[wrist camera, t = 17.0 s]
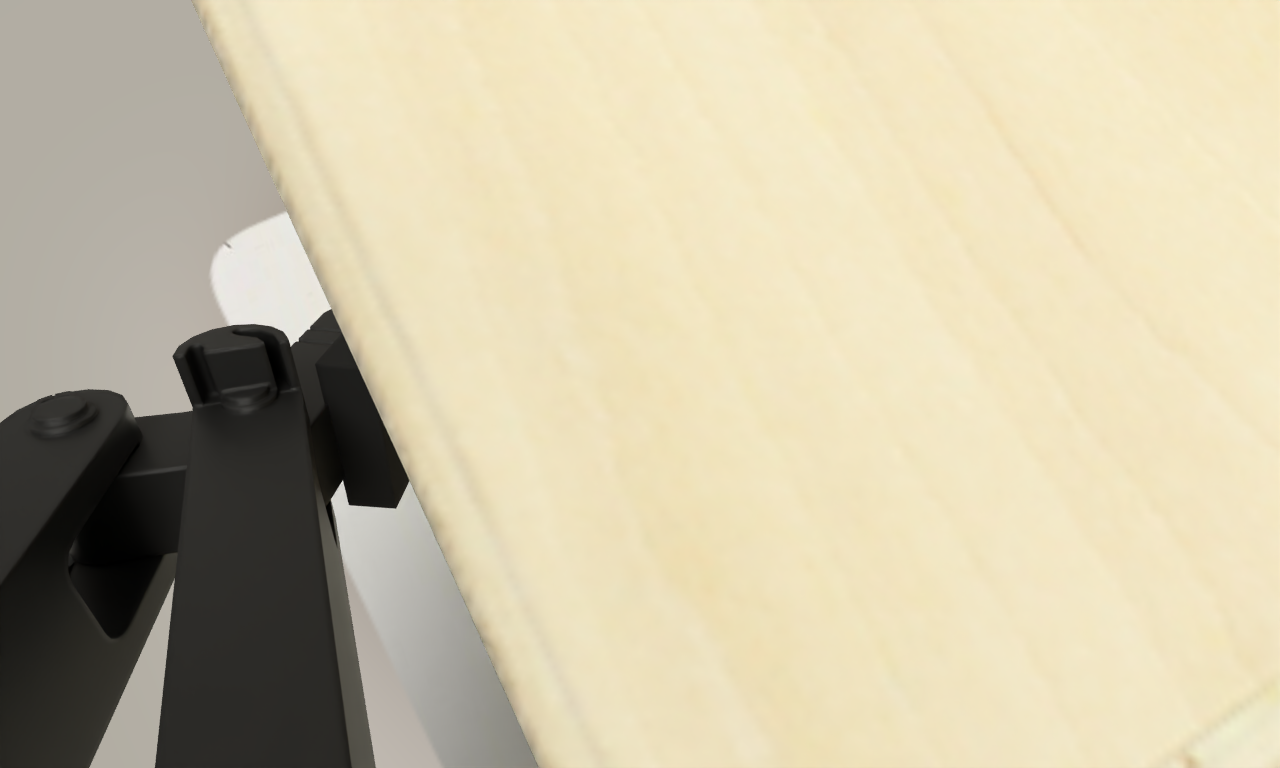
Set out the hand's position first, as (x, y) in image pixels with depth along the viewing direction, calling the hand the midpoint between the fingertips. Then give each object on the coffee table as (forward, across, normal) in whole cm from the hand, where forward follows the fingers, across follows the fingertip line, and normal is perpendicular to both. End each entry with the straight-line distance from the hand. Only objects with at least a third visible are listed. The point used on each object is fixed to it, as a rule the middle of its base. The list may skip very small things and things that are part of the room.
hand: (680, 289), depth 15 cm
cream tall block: (+5, 0, -9) cm, 11 cm away
